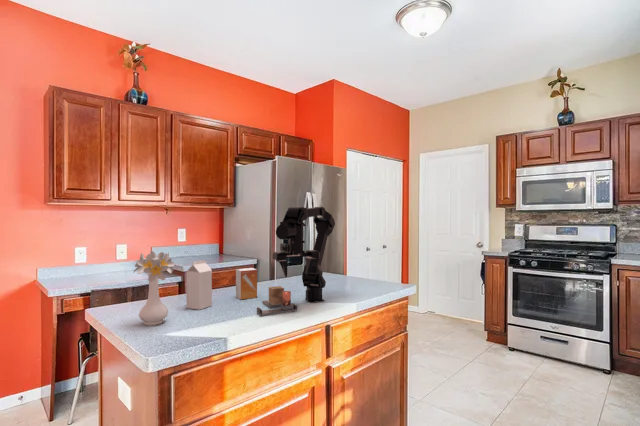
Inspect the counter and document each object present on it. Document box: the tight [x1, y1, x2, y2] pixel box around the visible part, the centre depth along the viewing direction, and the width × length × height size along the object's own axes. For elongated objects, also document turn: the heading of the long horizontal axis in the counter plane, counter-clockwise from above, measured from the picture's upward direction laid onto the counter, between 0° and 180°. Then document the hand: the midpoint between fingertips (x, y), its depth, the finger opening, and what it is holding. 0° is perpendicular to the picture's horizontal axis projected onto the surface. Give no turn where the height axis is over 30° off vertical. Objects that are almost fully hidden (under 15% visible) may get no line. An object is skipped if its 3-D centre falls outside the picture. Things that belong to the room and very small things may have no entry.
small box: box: [235, 267, 258, 300], centre depth 165 cm, size 8×6×13 cm
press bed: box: [262, 299, 283, 310], centre depth 152 cm, size 9×10×1 cm
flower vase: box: [133, 250, 176, 326], centre depth 127 cm, size 13×18×25 cm
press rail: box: [256, 302, 298, 318], centre depth 139 cm, size 15×4×2 cm, turn 117°
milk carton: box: [185, 259, 213, 311], centre depth 148 cm, size 7×7×19 cm
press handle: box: [279, 290, 293, 310], centre depth 141 cm, size 4×4×6 cm
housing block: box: [268, 285, 285, 304], centre depth 152 cm, size 5×5×6 cm
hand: (296, 276), depth 146 cm, fingers open, 9 cm apart
